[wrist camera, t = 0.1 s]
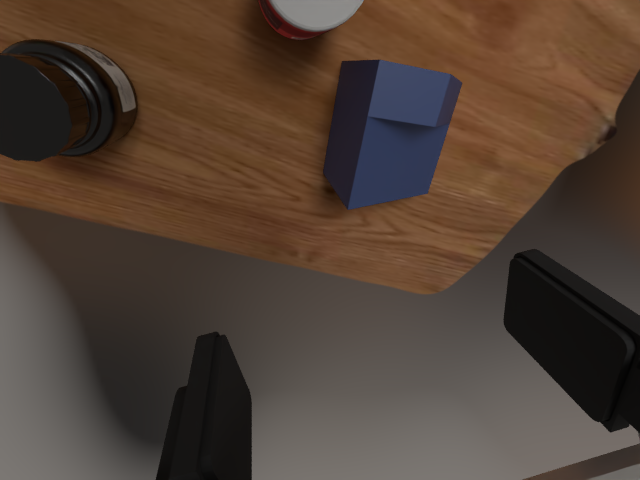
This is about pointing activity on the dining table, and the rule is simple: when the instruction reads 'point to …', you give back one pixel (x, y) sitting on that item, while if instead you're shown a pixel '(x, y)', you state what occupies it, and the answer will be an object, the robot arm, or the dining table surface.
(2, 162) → the dining table surface
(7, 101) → the ink bottle
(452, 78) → the phone stand
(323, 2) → the canned food
